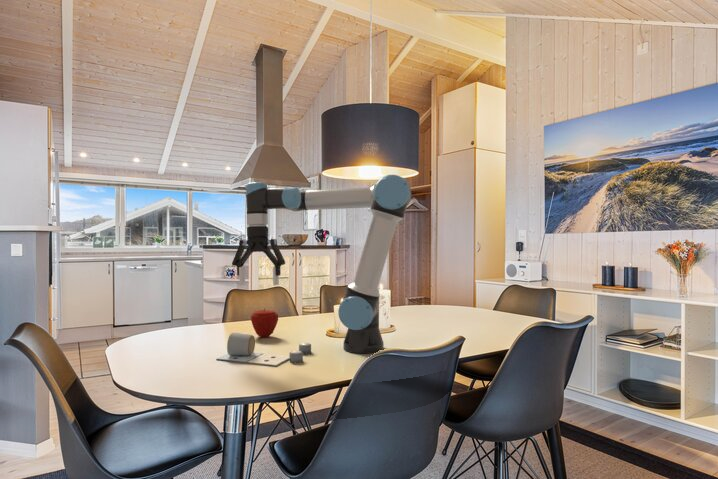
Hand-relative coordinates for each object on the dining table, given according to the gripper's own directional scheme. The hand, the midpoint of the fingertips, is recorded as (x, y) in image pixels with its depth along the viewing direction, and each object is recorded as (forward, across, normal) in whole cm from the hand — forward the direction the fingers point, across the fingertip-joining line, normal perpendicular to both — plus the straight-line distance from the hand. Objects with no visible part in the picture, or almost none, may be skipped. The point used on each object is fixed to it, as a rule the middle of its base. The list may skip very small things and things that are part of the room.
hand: (258, 285), depth 160 cm
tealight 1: (+25, -16, +6) cm, 31 cm away
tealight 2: (+25, -15, -6) cm, 30 cm away
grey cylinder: (+24, +4, +5) cm, 25 cm away
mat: (+25, -2, +7) cm, 26 cm away
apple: (+25, +11, -24) cm, 36 cm away
